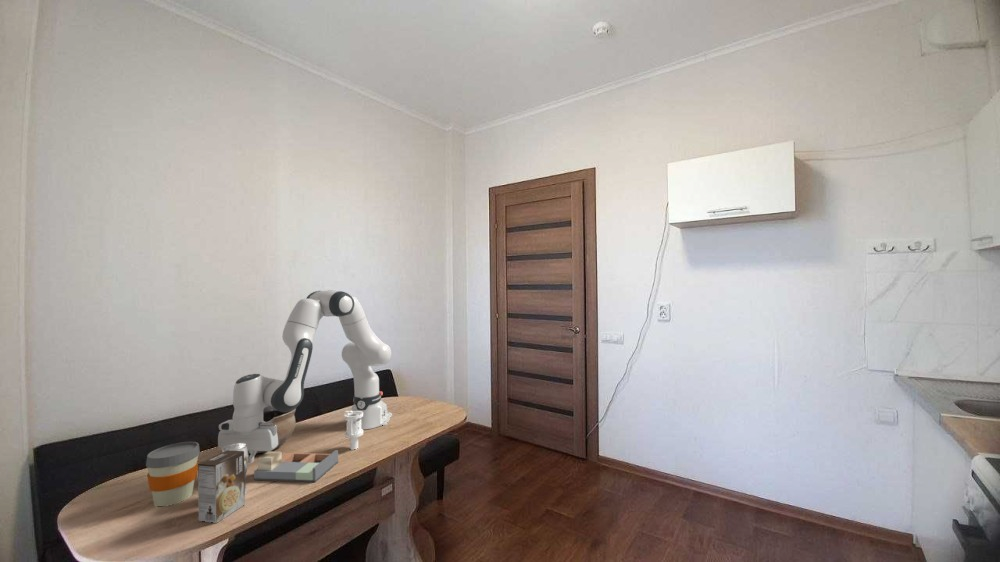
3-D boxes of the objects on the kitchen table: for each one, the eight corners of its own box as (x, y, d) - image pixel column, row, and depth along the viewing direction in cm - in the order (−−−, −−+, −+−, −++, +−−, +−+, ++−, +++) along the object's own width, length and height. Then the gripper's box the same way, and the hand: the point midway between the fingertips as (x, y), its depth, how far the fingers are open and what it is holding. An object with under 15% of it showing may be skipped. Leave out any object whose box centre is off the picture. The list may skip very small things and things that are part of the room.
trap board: (282, 460, 138) (282, 448, 138) (338, 462, 136) (338, 450, 136) (254, 480, 124) (254, 466, 124) (315, 482, 122) (315, 468, 122)
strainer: (349, 444, 151) (349, 408, 152) (366, 444, 151) (365, 408, 152) (341, 452, 144) (341, 413, 145) (359, 452, 144) (358, 413, 145)
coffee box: (227, 502, 111) (227, 449, 111) (245, 504, 110) (245, 450, 110) (197, 521, 102) (197, 463, 102) (216, 524, 101) (216, 465, 101)
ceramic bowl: (224, 465, 135) (224, 424, 135) (238, 443, 155) (238, 407, 155) (293, 453, 144) (293, 415, 145) (298, 434, 164) (298, 400, 164)
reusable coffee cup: (172, 487, 120) (172, 441, 121) (210, 487, 120) (210, 441, 120) (133, 510, 108) (133, 458, 108) (174, 510, 107) (175, 458, 108)
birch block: (268, 462, 130) (268, 451, 130) (281, 463, 130) (281, 451, 130) (257, 469, 125) (257, 457, 125) (271, 470, 125) (271, 458, 125)
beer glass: (224, 492, 117) (224, 444, 117) (250, 487, 120) (250, 440, 120) (218, 503, 111) (218, 453, 111) (245, 498, 113) (245, 449, 114)
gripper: (282, 419, 131) (282, 458, 130) (229, 418, 133) (229, 457, 132) (269, 426, 124) (269, 467, 124) (214, 425, 126) (214, 465, 126)
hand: (248, 462), depth 128 cm, fingers closed
